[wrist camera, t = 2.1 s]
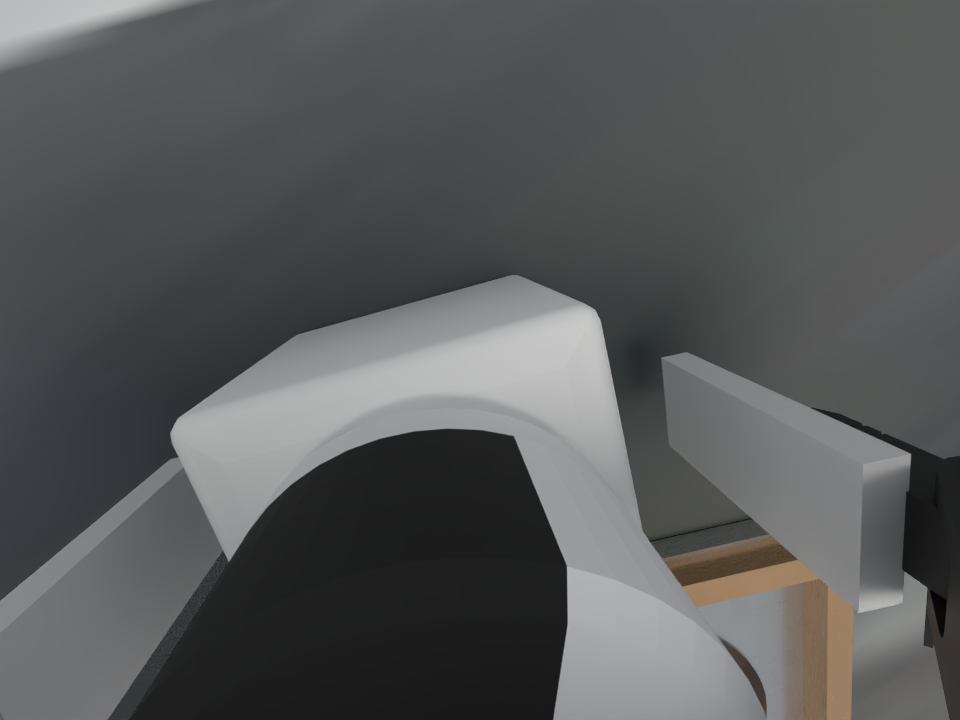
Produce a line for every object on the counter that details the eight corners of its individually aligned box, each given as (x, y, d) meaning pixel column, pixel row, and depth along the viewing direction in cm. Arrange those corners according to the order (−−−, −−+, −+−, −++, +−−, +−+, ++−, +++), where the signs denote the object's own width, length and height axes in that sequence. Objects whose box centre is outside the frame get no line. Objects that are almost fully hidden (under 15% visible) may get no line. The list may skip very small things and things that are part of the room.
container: (365, 536, 17) (188, 1325, 5) (289, 335, 15) (-378, 780, 3) (570, 477, 17) (919, 1084, 5) (521, 270, 15) (901, 407, 3)
